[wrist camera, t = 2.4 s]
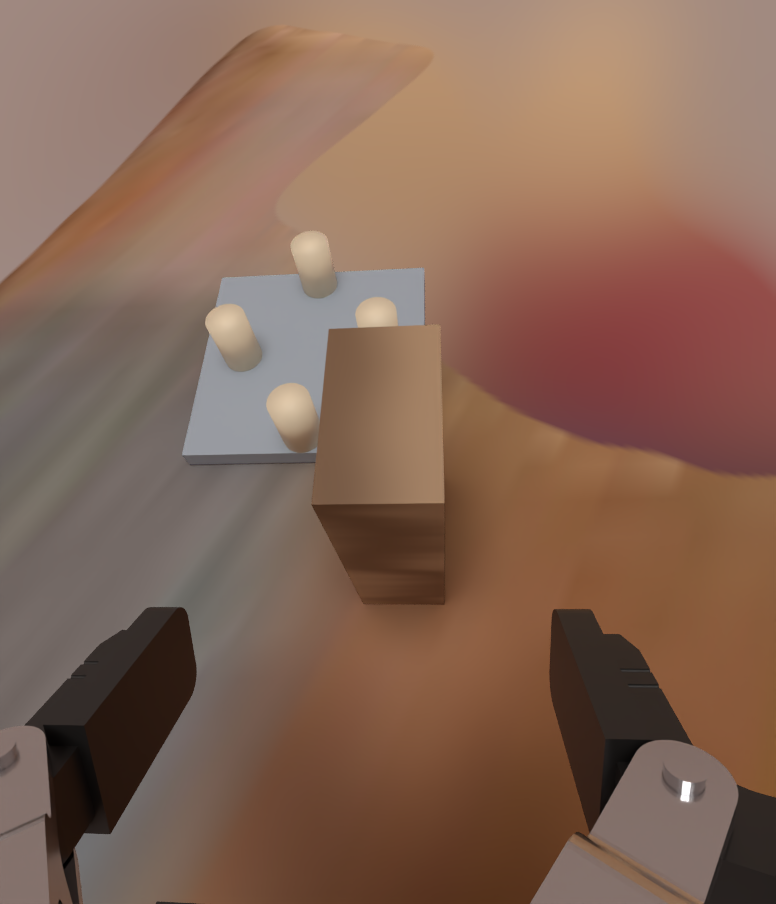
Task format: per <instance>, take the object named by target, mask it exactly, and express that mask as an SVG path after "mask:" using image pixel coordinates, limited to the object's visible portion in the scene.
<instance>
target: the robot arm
mask: <svg viewBox="0 0 776 904" xmlns="http://www.w3.org/2000/svg"><path fill="white" fill-rule="evenodd" d="M195 682H196V662H195V656H194V650H193V644H192V638H191V632H190V626H189V620H188V615H187V612H186V610H185V609H184V608H181V607H149V608H147V609H145V610H144V611H143V612H142V614H141V615H140V616H139V617H138V618H137V619H136V620H135V621H134V623H133V624H132V625H131V626H130V627H129V628H128V629H127V630H121V631H120V632H118V633H117V634H115V635H114V636H112V637H111V638H109V639H107V640H106V641H104V642H103V643H101V644H100V645H99V646H98V647H97V648H96V649H95V650H94V651H93V652H92V653H91V654H90V655H89V656H88V658H87V659H86V660H85V661H84V664H83V665H80V666H79V667H78V668H77V669H76V671H75V672H74V673H73V674H72V675H71V679H67V680H66V681H65V682H64V683H63V685H62V686H61V687H60V688H59V689H58V690H57V691H56V692H55V693H54V694H53V695H52V696H51V697H50V699H49V700H48V701H47V702H46V703H45V704H44V705H43V706H42V707H41V708H40V709H39V710H38V711H37V713H36V714H35V715H34V716H33V717H32V718H31V719H30V720H29V721H28V722H27V723H26V724H25V725H24V726H16V727H11V728H7V729H4V730H1V731H0V904H83V899H82V890H81V882H80V873H79V864H78V858H77V854H76V850H75V846H76V845H77V843H78V842H79V840H80V838H81V837H82V835H83V834H84V833H94V834H111V832H112V830H113V829H114V827H115V825H116V824H117V822H118V820H119V819H120V817H121V815H122V813H123V812H124V810H125V808H126V807H127V805H128V803H129V802H130V800H131V798H132V796H133V795H134V793H135V791H136V790H137V788H138V786H139V785H140V783H141V781H142V779H143V778H144V776H145V774H146V773H147V771H148V769H149V768H150V766H151V764H152V762H153V761H154V759H155V757H156V756H157V754H158V752H159V751H160V749H161V747H162V745H163V744H164V742H165V740H166V739H167V737H168V735H169V734H170V732H171V730H172V728H173V727H174V725H175V723H176V722H177V720H178V718H179V717H180V715H181V713H182V711H183V710H184V708H185V706H186V705H187V703H188V701H189V700H190V698H191V696H192V693H193V691H194V687H195ZM550 689H551V697H552V702H553V706H554V710H555V713H556V717H557V720H558V724H559V727H560V731H561V734H562V738H563V741H564V745H565V748H566V752H567V755H568V759H569V762H570V766H571V769H572V773H573V776H574V780H575V783H576V787H577V790H578V794H579V797H580V801H581V804H582V808H583V811H584V815H585V818H586V822H587V825H588V829H589V832H590V834H589V835H588V836H587V837H586V836H584V835H583V834H581V833H579V832H576V833H575V834H573V835H572V836H571V838H570V839H569V840H568V842H567V843H566V845H565V846H564V848H563V850H562V851H561V853H560V855H559V856H558V858H557V860H556V861H555V863H554V865H553V866H552V868H551V870H550V871H549V873H548V875H547V876H546V878H545V880H544V881H543V883H542V885H541V886H540V888H539V890H538V891H537V893H536V895H535V896H534V898H533V900H532V901H531V903H530V904H776V798H774V797H771V796H767V795H764V794H760V793H757V792H754V791H751V790H748V789H746V788H743V787H741V786H739V785H737V784H736V782H735V780H734V779H733V777H732V775H731V774H730V773H729V771H728V770H727V769H726V768H725V767H724V766H723V765H722V764H721V763H720V762H719V761H718V760H717V759H715V758H714V757H713V756H711V755H710V754H708V753H707V752H705V751H703V750H701V749H699V748H697V747H695V746H693V745H692V743H691V741H690V739H689V738H688V736H687V734H686V732H685V731H684V729H683V727H682V725H681V723H680V722H679V720H678V718H677V716H676V715H675V713H674V711H673V709H672V708H671V706H670V704H669V702H668V700H667V699H666V697H665V695H664V693H663V692H662V690H661V689H660V688H659V684H658V683H657V681H656V679H655V677H654V676H653V674H652V673H650V668H649V667H648V665H647V663H646V661H645V660H644V658H643V656H642V654H641V653H640V651H639V650H638V649H637V648H636V647H635V646H633V645H632V644H631V643H630V642H629V641H627V640H626V639H625V638H624V637H622V636H621V635H620V634H603V633H602V630H601V628H600V626H599V624H598V622H597V620H596V618H595V616H594V614H593V612H592V611H591V610H590V609H554V610H553V613H552V625H551V649H550ZM156 904H194V903H174V902H157V903H156Z"/></svg>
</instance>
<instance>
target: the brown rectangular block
mask: <svg viewBox="0 0 776 904" xmlns="http://www.w3.org/2000/svg"><path fill="white" fill-rule="evenodd" d="M440 339H441V338H440V325H414V326H388V327H363V328H337V329H329V331H328V342H327V352H326V362H325V372H324V382H323V392H322V403H321V413H320V423H319V433H318V443H317V454H316V464H315V474H314V484H313V494H312V504H311V505H312V507H313V508H314V510H315V512H316V514H317V516H318V518H319V520H320V522H321V524H322V526H323V527H324V529H325V531H326V533H327V535H328V537H329V539H330V541H331V543H332V545H333V547H334V548H335V550H336V552H337V554H338V556H339V558H340V560H341V562H342V564H343V566H344V567H345V569H346V571H347V573H348V575H349V577H350V579H351V581H352V583H353V585H354V587H355V588H356V590H357V592H358V594H359V596H360V598H361V600H362V602H363V604H444V464H443V421H442V379H441V342H440V341H441V340H440Z"/></svg>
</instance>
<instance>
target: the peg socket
mask: <svg viewBox="0 0 776 904" xmlns="http://www.w3.org/2000/svg"><path fill="white" fill-rule="evenodd" d="M291 251H292V254H293V257H294V261H295V264H296V267H297V270H298V274H288V275H268V276H248V277H228V278H222V282H221V286H220V291H219V295H218V299H217V304H216V308H214V309H213V310H212V311H211V312H210V313H209V314H208V315H207V317H206V321H205V324H206V327H207V329H208V331H209V333H210V335H209V339H208V343H207V348H206V352H205V356H204V361H203V365H202V370H201V374H200V378H199V383H198V387H197V392H196V396H195V400H194V405H193V409H192V414H191V418H190V422H189V427H188V431H187V436H186V440H185V444H184V449H183V453H182V456H183V457H184V458H185V459H186V461H187V462H188V463H189V464H190V465H195V464H249V463H303V462H316V454H317V443H318V433H319V423H320V413H321V403H322V392H323V382H324V372H325V362H326V352H327V342H328V331H329V329H337V328H363V327H388V326H414V325H425V280H424V268H410V269H390V270H371V271H370V270H369V271H350V272H335V271H334V267H333V262H332V257H331V253H330V249H329V244H328V240H327V238H326V236H325V235H324V234H322V233H321V232H318V231H307V232H303V233H301V234H299V235H297V236H296V237H295V238H294V239H293V240H292V242H291Z"/></svg>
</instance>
